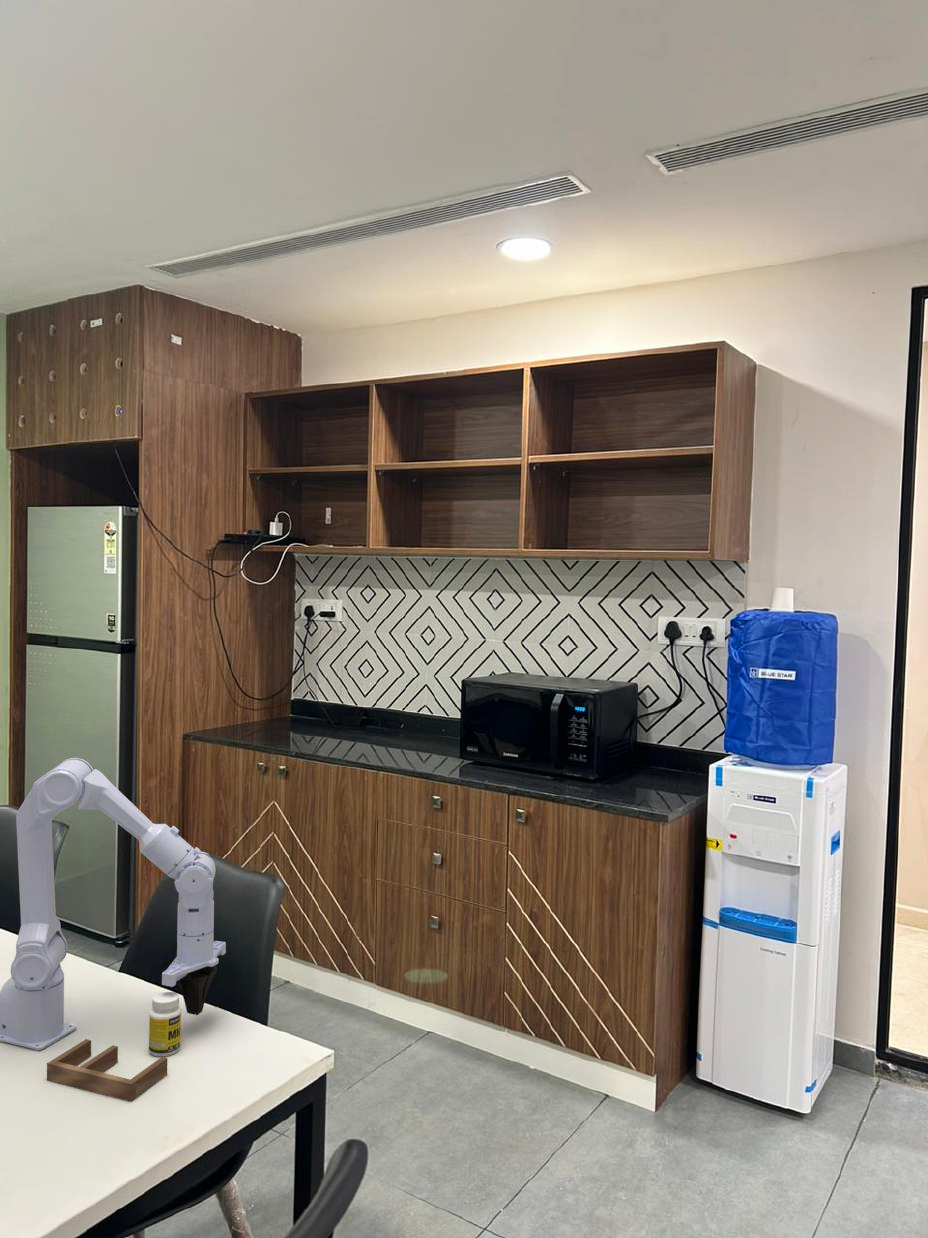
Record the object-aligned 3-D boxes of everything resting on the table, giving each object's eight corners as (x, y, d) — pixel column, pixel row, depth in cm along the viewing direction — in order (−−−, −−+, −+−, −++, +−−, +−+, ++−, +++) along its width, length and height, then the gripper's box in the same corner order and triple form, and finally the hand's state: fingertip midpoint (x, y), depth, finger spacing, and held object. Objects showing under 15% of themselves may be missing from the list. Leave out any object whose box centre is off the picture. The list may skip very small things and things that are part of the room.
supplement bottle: (171, 1059, 146) (171, 1005, 146) (142, 1055, 147) (143, 1002, 147) (186, 1044, 151) (187, 992, 150) (158, 1041, 152) (159, 989, 151)
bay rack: (46, 1080, 139) (46, 1063, 139) (85, 1055, 147) (85, 1039, 147) (131, 1102, 134) (131, 1084, 134) (167, 1074, 142) (167, 1058, 141)
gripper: (189, 950, 147) (188, 1036, 148) (241, 919, 161) (240, 998, 161) (151, 943, 150) (150, 1028, 150) (206, 913, 163) (205, 991, 164)
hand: (194, 1012), depth 156 cm, fingers closed
